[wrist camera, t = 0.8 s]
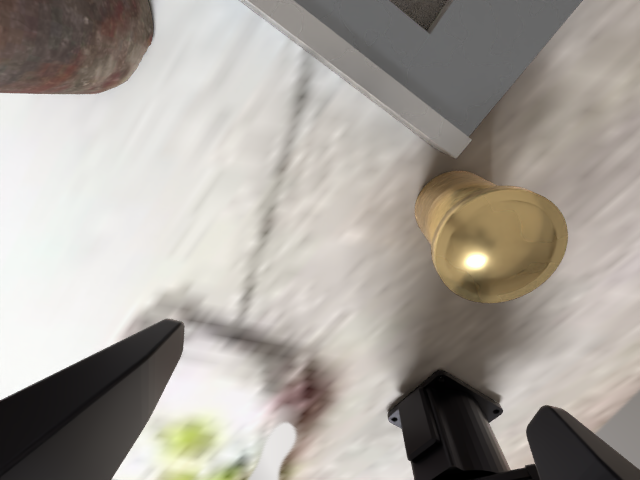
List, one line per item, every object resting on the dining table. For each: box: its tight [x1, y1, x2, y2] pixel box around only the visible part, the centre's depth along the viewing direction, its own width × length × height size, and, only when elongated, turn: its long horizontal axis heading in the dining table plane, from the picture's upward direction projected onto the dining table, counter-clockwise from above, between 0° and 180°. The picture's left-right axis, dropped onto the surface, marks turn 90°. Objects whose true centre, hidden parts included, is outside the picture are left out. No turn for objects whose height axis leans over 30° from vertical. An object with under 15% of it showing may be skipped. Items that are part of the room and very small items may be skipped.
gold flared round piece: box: [415, 171, 568, 303], centre depth 16 cm, size 5×5×6 cm
